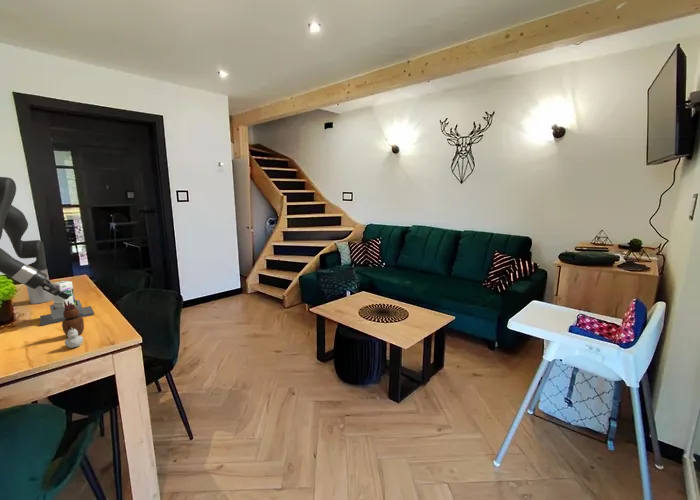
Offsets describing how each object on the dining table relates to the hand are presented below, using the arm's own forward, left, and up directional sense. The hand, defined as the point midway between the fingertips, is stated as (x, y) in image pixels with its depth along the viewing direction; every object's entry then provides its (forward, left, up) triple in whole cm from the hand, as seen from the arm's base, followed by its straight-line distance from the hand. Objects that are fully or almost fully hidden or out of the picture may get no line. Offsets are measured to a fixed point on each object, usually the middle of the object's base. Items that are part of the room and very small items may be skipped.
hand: (67, 295), depth 159 cm
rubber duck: (+43, -2, -10) cm, 44 cm away
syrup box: (0, -2, -8) cm, 8 cm away
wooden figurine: (+30, -1, -10) cm, 32 cm away
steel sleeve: (0, -1, -10) cm, 10 cm away
